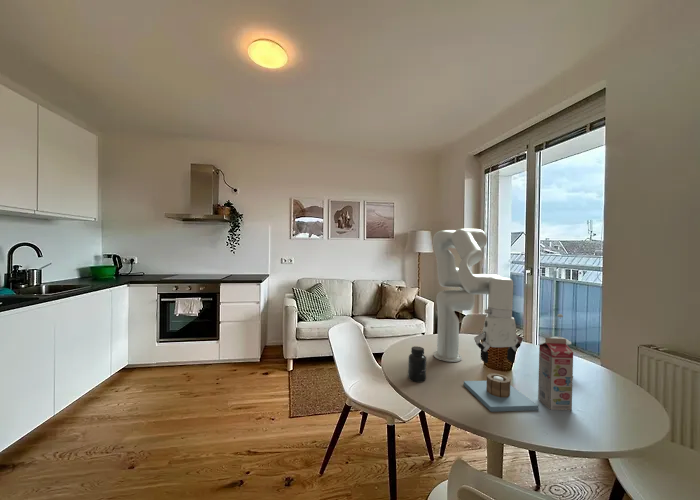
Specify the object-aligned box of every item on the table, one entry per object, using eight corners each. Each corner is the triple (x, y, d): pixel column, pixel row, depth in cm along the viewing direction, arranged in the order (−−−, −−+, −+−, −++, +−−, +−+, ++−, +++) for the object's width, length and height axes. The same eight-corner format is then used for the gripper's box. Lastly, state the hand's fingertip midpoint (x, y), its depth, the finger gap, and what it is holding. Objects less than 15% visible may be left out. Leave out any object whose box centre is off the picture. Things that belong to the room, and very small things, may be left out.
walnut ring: (483, 387, 105) (483, 373, 105) (501, 387, 106) (501, 373, 106) (494, 397, 98) (494, 382, 98) (514, 397, 99) (514, 382, 99)
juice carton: (538, 399, 101) (539, 335, 101) (557, 399, 101) (559, 335, 101) (550, 409, 95) (552, 341, 94) (571, 410, 94) (573, 341, 94)
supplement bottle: (426, 383, 111) (427, 352, 111) (407, 381, 112) (408, 350, 112) (425, 376, 118) (426, 346, 118) (408, 374, 119) (408, 344, 119)
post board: (463, 385, 110) (463, 367, 110) (503, 384, 112) (504, 367, 112) (490, 411, 93) (491, 390, 93) (538, 410, 94) (538, 389, 94)
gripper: (481, 315, 98) (479, 366, 98) (530, 315, 99) (528, 365, 100) (470, 310, 105) (468, 357, 106) (516, 310, 107) (514, 356, 107)
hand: (497, 361), depth 103 cm, fingers open, 9 cm apart
